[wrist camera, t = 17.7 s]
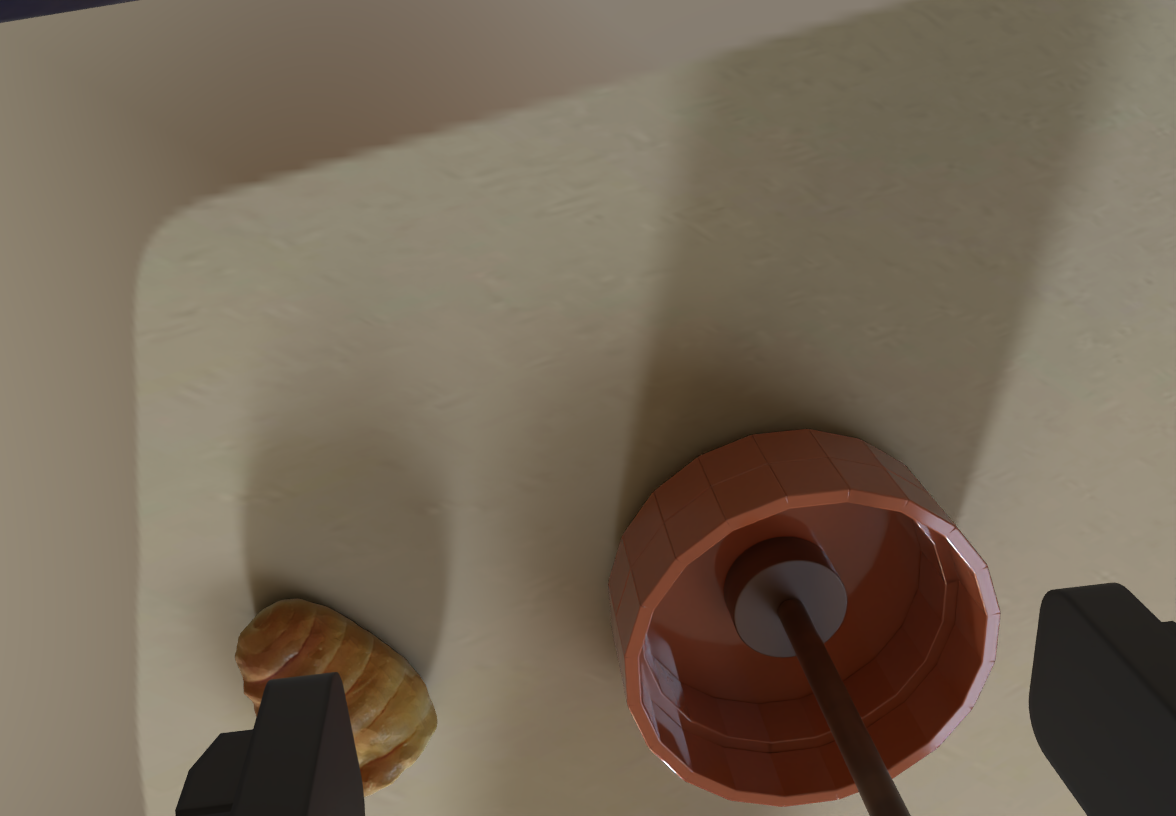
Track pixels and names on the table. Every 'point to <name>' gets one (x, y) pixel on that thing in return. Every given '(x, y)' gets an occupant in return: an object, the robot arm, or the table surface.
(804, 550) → the brown plunger
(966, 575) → the mixing bowl
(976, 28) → the table surface
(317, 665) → the pastry
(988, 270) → the table surface
